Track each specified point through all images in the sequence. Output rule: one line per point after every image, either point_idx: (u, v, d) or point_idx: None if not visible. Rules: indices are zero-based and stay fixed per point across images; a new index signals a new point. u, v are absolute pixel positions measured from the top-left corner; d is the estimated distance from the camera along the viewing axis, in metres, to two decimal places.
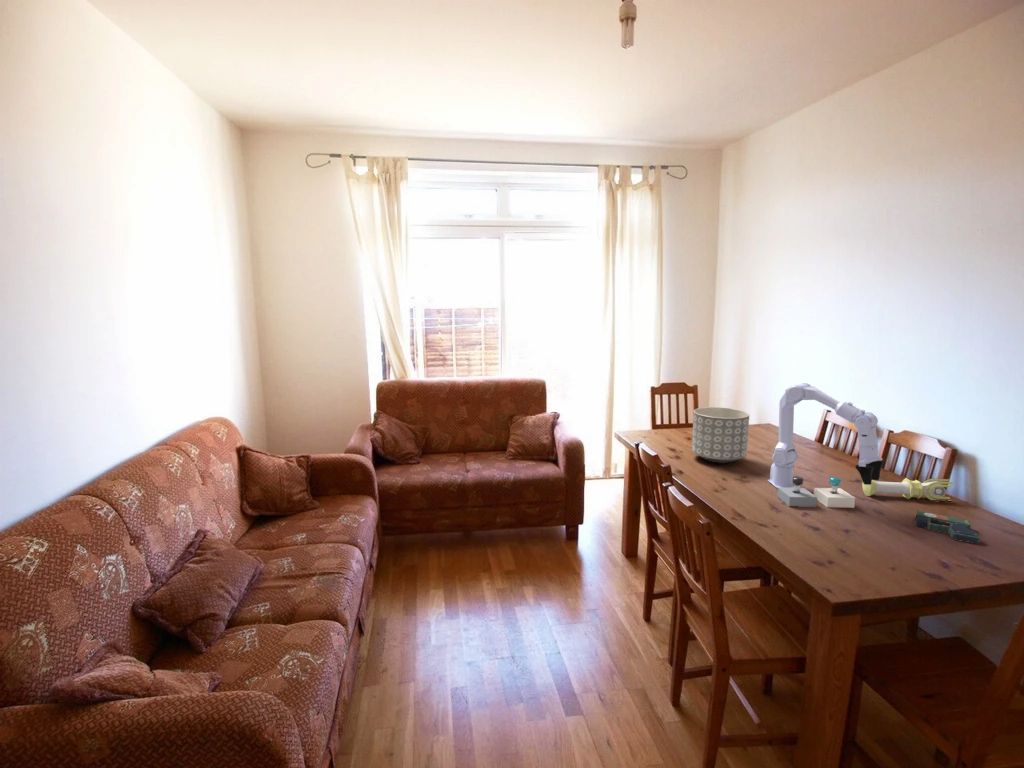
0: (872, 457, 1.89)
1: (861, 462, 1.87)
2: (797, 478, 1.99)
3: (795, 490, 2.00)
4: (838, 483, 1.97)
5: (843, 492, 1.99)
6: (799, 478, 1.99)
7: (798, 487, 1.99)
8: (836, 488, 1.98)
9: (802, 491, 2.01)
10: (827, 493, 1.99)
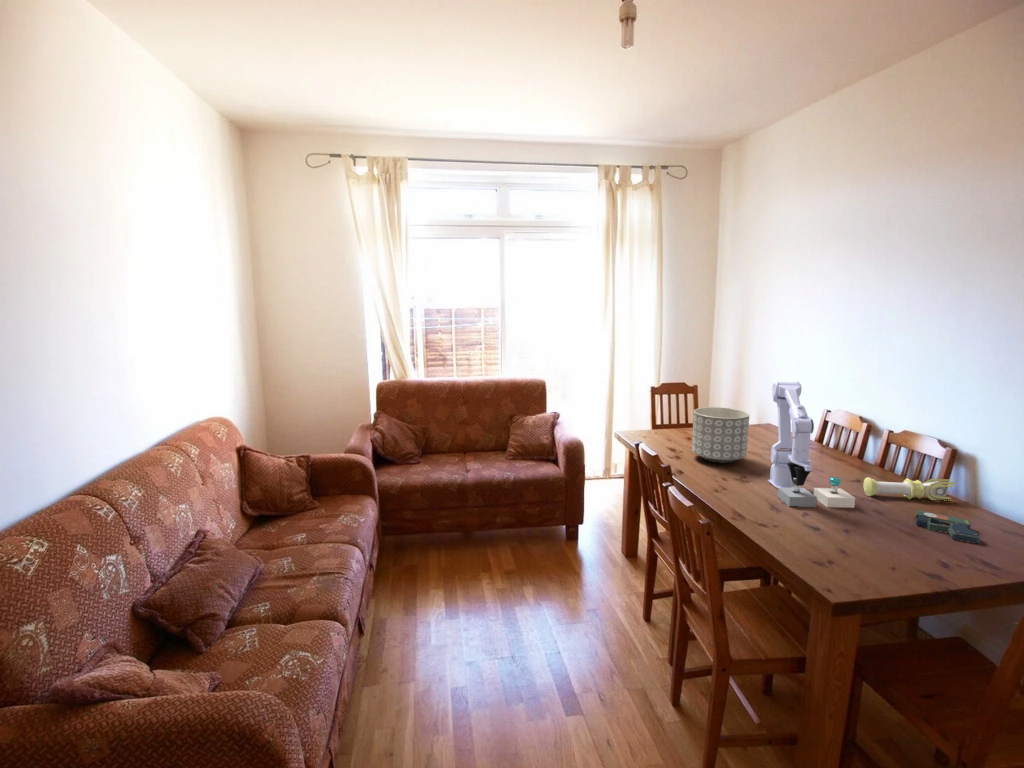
0: (807, 460, 1.96)
1: (809, 467, 1.91)
2: None
3: (795, 490, 2.00)
4: (838, 483, 1.97)
5: (843, 492, 1.99)
6: None
7: (798, 487, 1.99)
8: (836, 488, 1.98)
9: (802, 491, 2.01)
10: (827, 493, 1.99)
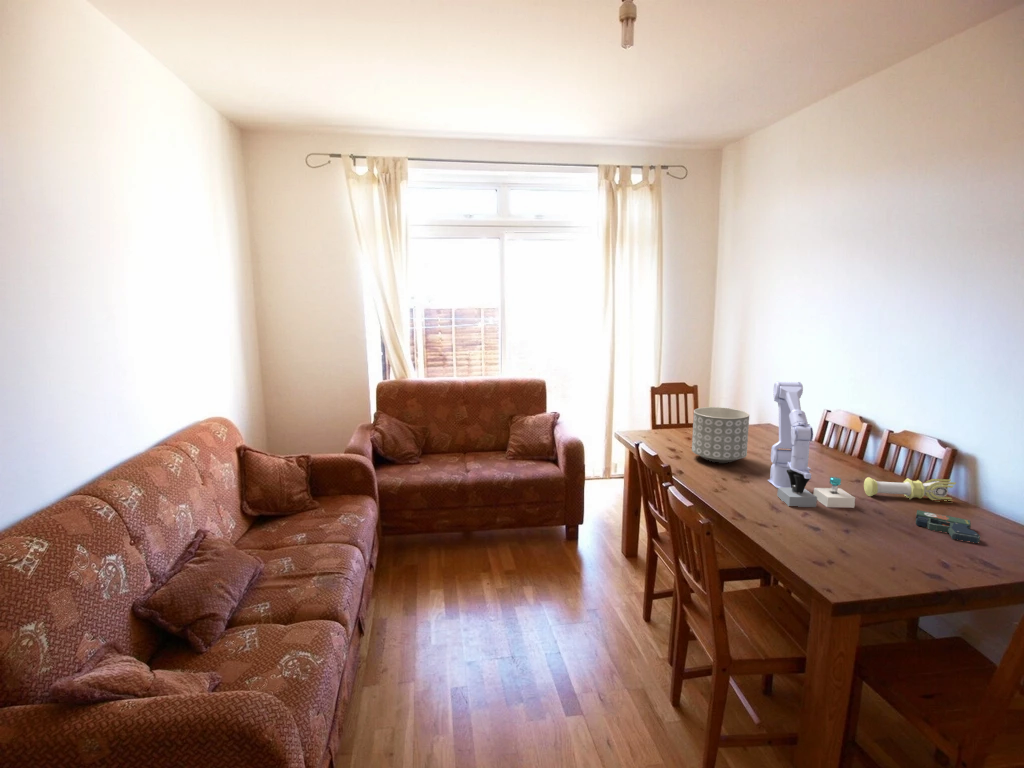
0: (806, 468, 1.96)
1: (808, 475, 1.91)
2: None
3: None
4: (838, 483, 1.97)
5: (843, 492, 1.99)
6: None
7: None
8: (836, 488, 1.98)
9: None
10: (827, 493, 1.99)
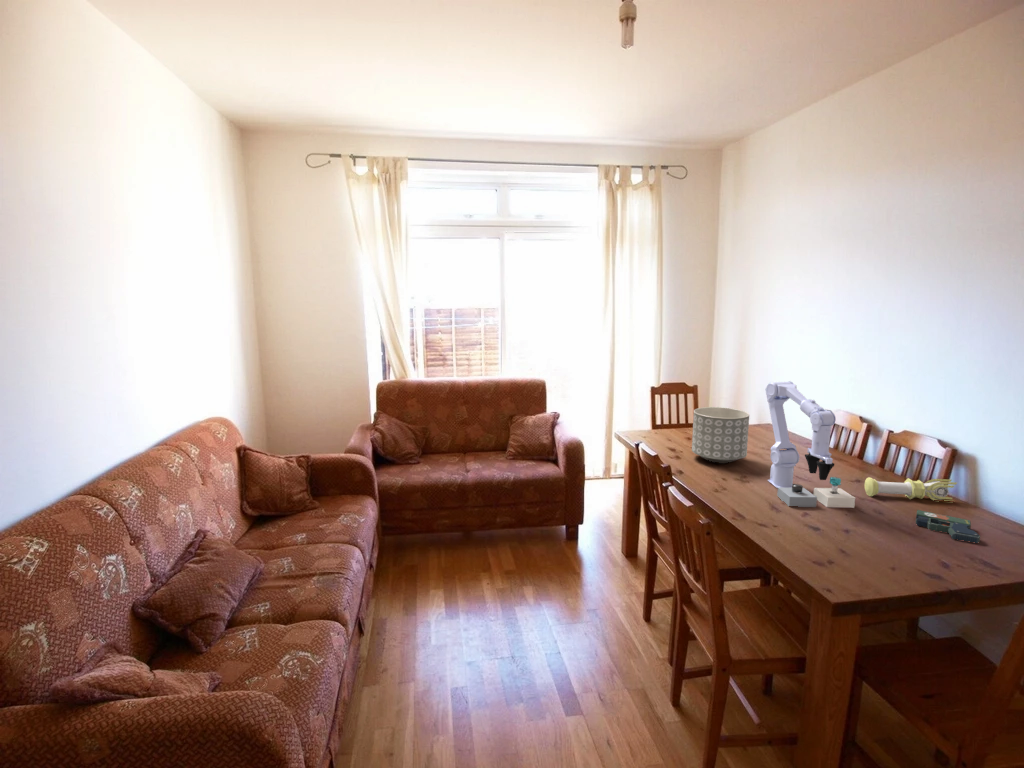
0: (827, 453, 1.95)
1: (829, 460, 1.90)
2: (796, 485, 1.99)
3: None
4: (838, 483, 1.97)
5: (843, 492, 1.99)
6: (798, 485, 1.99)
7: None
8: (836, 488, 1.98)
9: (802, 491, 2.01)
10: (827, 493, 1.99)
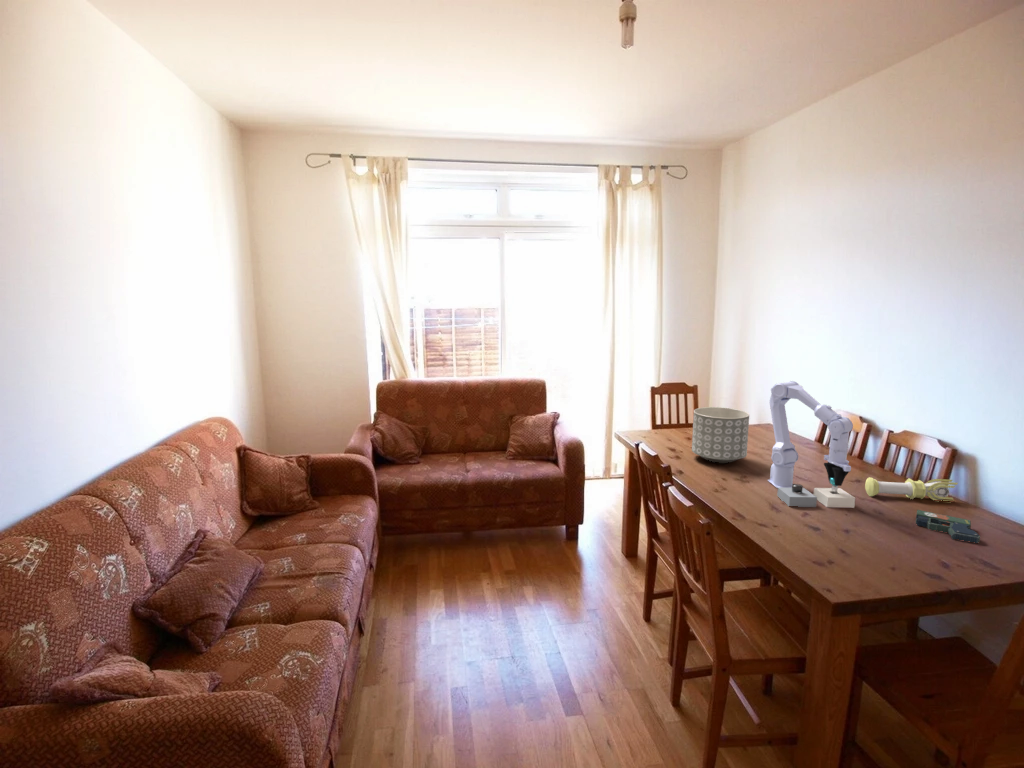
0: (845, 460, 1.95)
1: (848, 467, 1.90)
2: (796, 485, 1.99)
3: None
4: None
5: (843, 492, 1.99)
6: (798, 485, 1.99)
7: None
8: (836, 488, 1.98)
9: (802, 491, 2.01)
10: (827, 493, 1.99)
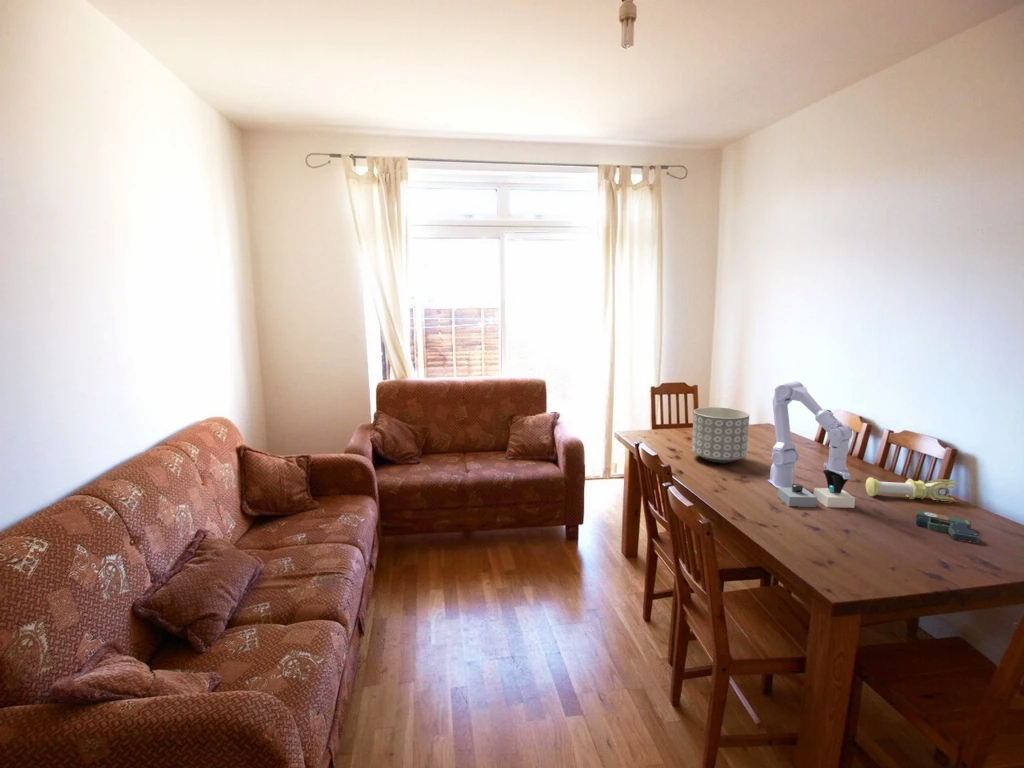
0: (844, 468, 1.95)
1: (847, 475, 1.91)
2: (796, 485, 1.99)
3: None
4: None
5: (843, 492, 1.99)
6: (798, 485, 1.99)
7: None
8: None
9: (802, 491, 2.01)
10: (827, 493, 1.99)
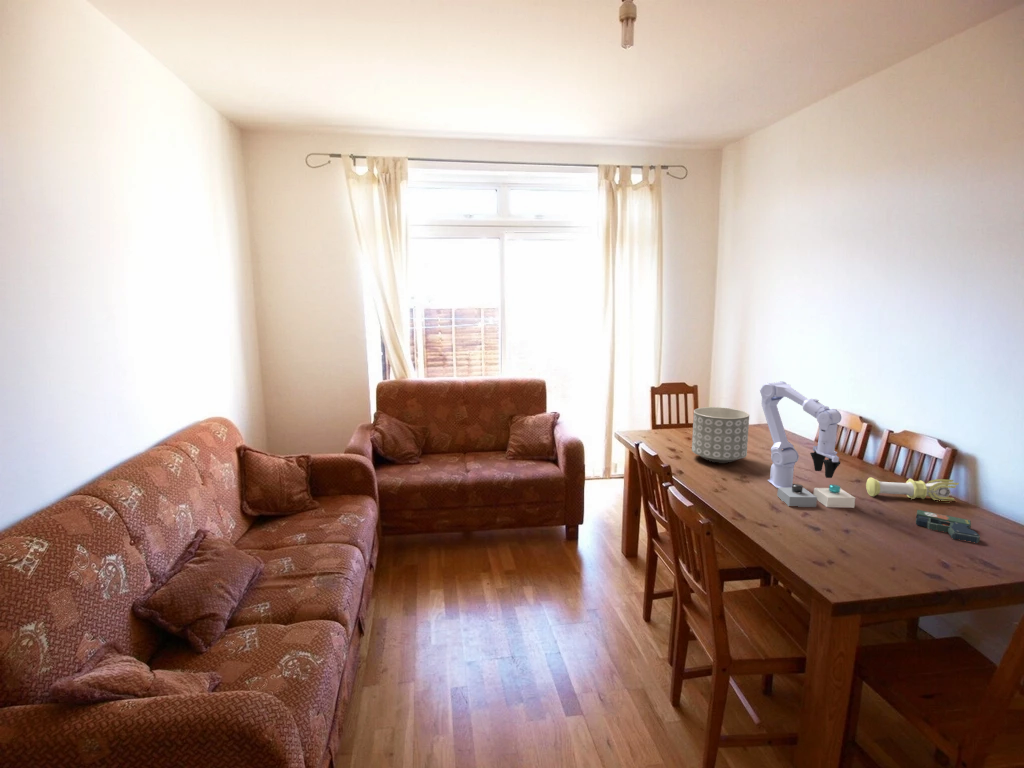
0: (833, 451, 1.98)
1: (836, 458, 1.93)
2: (796, 485, 1.99)
3: None
4: (837, 490, 1.97)
5: (843, 492, 1.99)
6: (798, 485, 1.99)
7: None
8: None
9: (802, 491, 2.01)
10: (827, 493, 1.99)
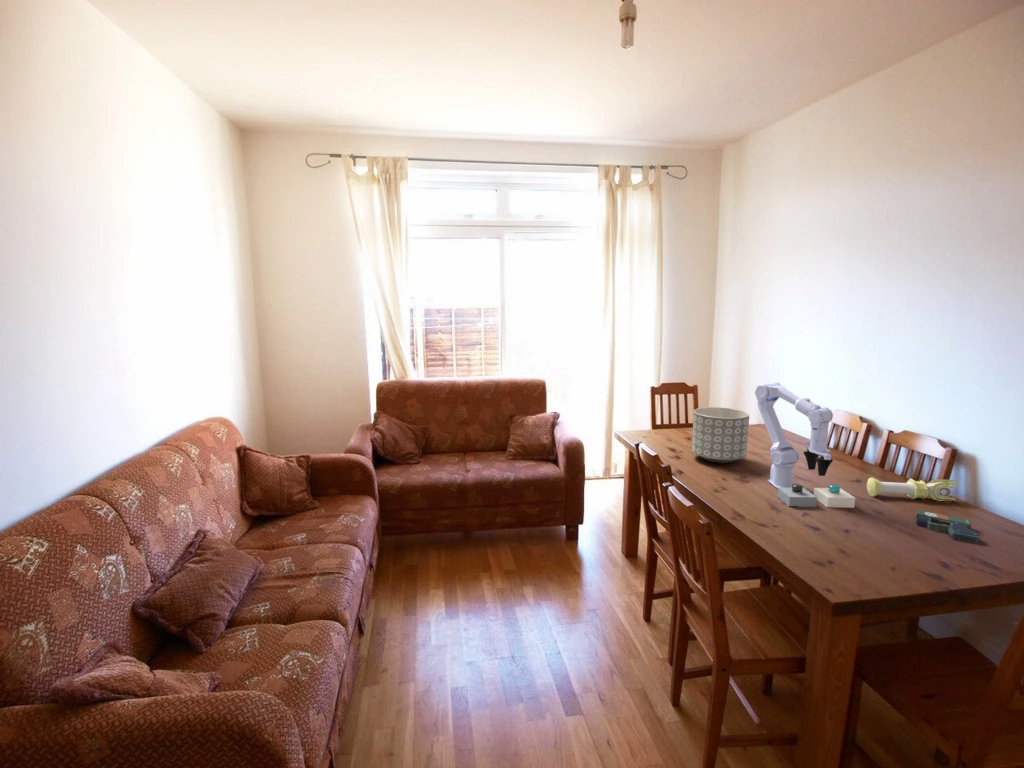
0: (826, 449, 1.99)
1: (828, 456, 1.95)
2: (796, 485, 1.99)
3: None
4: (837, 490, 1.97)
5: (843, 492, 1.99)
6: (798, 485, 1.99)
7: None
8: None
9: (802, 491, 2.01)
10: (827, 493, 1.99)
